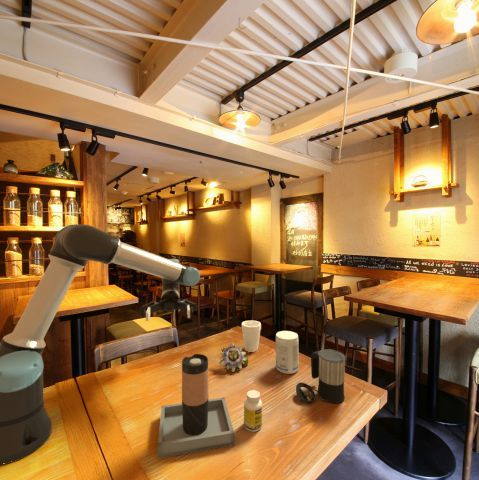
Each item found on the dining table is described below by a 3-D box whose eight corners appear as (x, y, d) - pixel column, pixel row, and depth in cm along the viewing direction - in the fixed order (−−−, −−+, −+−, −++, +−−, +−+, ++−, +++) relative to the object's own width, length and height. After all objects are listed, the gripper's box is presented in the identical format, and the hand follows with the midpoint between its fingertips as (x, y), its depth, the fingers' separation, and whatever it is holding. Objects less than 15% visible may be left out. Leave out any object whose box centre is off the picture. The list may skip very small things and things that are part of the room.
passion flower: (233, 383, 113) (218, 365, 109) (227, 366, 123) (213, 349, 119) (255, 367, 114) (240, 348, 110) (248, 351, 124) (234, 333, 120)
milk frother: (349, 395, 96) (350, 354, 95) (329, 417, 85) (329, 371, 84) (313, 380, 106) (313, 342, 105) (290, 398, 95) (291, 356, 94)
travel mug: (203, 438, 75) (203, 367, 74) (177, 434, 76) (177, 364, 76) (211, 419, 82) (211, 354, 82) (188, 415, 84) (187, 352, 83)
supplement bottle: (256, 435, 77) (256, 401, 77) (240, 427, 80) (240, 395, 80) (265, 423, 82) (265, 392, 82) (249, 417, 85) (249, 386, 84)
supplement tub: (293, 362, 120) (293, 329, 120) (302, 373, 111) (302, 338, 110) (272, 364, 118) (272, 331, 117) (280, 376, 109) (280, 340, 108)
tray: (157, 458, 69) (157, 445, 69) (161, 416, 85) (161, 405, 85) (234, 445, 74) (234, 432, 74) (224, 407, 89) (224, 397, 89)
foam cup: (237, 350, 132) (237, 324, 131) (248, 344, 139) (248, 319, 139) (254, 355, 126) (254, 328, 126) (264, 348, 134) (264, 322, 133)
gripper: (200, 306, 114) (205, 323, 94) (138, 310, 109) (129, 329, 88) (200, 289, 114) (205, 302, 93) (138, 292, 109) (128, 306, 88)
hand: (168, 315), depth 91 cm, fingers open, 13 cm apart
